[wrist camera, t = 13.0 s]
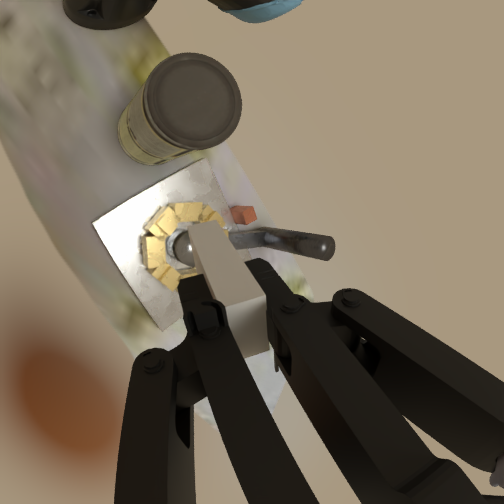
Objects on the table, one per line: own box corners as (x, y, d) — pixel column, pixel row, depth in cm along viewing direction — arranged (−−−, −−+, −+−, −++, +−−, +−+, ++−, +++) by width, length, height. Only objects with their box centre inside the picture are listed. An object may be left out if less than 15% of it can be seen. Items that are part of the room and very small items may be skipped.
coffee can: (142, 82, 33) (182, 35, 22) (198, 119, 39) (257, 91, 28) (102, 143, 32) (122, 112, 20) (165, 179, 38) (214, 169, 27)
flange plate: (91, 222, 33) (95, 225, 28) (212, 153, 41) (232, 147, 37) (159, 327, 40) (172, 343, 36) (256, 253, 49) (278, 259, 45)
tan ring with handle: (145, 293, 37) (184, 331, 26) (140, 204, 35) (177, 205, 24) (271, 270, 49) (332, 289, 39) (271, 200, 47) (336, 203, 37)
